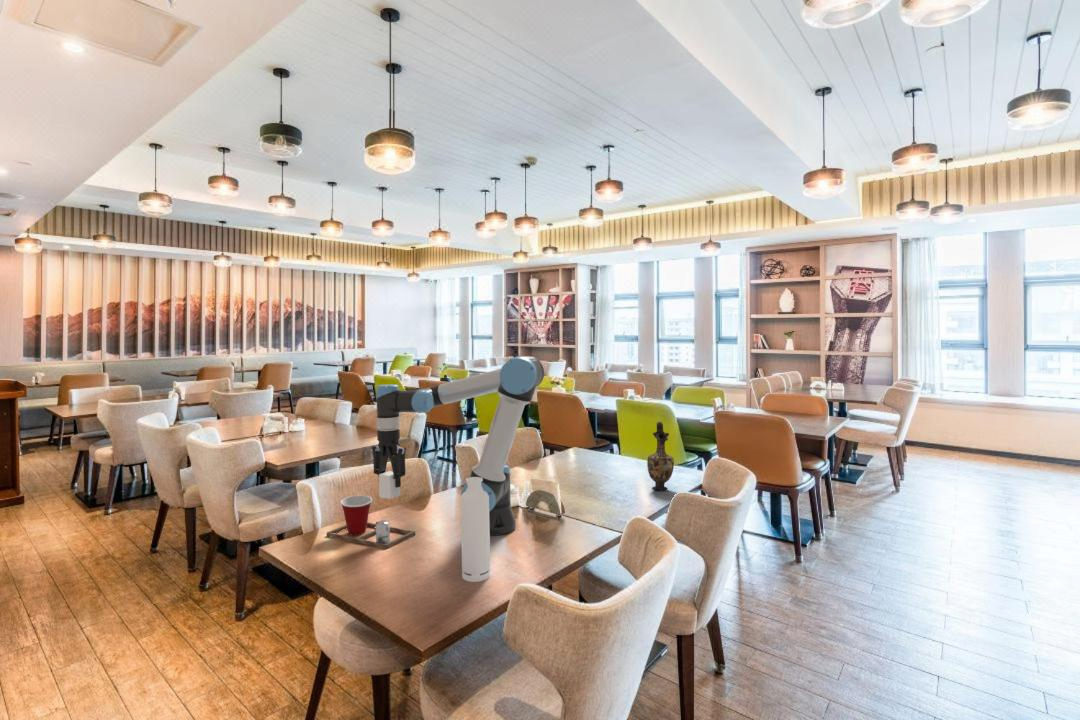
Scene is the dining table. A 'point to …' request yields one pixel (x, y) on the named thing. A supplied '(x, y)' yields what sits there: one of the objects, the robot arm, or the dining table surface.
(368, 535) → the holder frame
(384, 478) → the sugar box
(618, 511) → the dining table surface
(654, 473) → the vase
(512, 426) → the robot arm
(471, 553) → the bottle
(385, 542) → the silvery rounded piece
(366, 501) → the plastic cup
